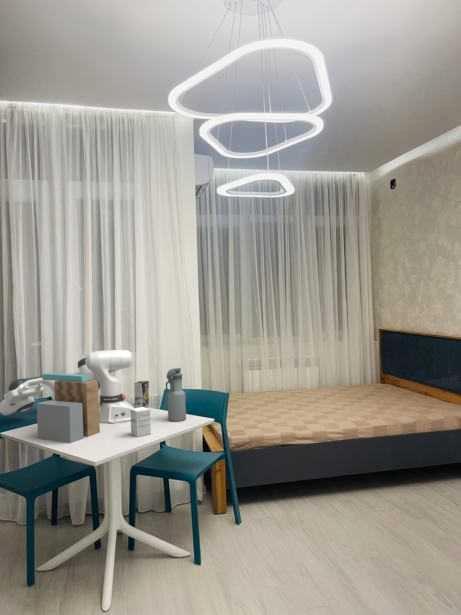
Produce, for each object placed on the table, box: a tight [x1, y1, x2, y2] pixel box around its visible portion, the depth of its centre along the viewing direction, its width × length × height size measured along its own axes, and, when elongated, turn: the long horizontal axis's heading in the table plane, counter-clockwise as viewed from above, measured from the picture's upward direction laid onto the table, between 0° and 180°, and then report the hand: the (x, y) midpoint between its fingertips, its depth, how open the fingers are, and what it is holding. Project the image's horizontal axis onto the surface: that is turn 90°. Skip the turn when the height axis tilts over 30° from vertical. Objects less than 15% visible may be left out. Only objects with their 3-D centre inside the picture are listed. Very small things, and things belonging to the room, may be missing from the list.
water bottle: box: [165, 367, 187, 423], centre depth 252 cm, size 10×10×28 cm
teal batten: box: [41, 372, 88, 382], centre depth 236 cm, size 28×4×3 cm, turn 63°
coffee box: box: [133, 380, 150, 408], centre depth 287 cm, size 9×6×16 cm
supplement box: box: [130, 407, 152, 438], centre depth 224 cm, size 7×7×13 cm
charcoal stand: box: [36, 400, 84, 444], centre depth 222 cm, size 22×8×17 cm, turn 63°
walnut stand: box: [54, 380, 101, 438], centre depth 232 cm, size 22×8×26 cm, turn 63°
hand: (34, 385), depth 246 cm, fingers open, 8 cm apart
